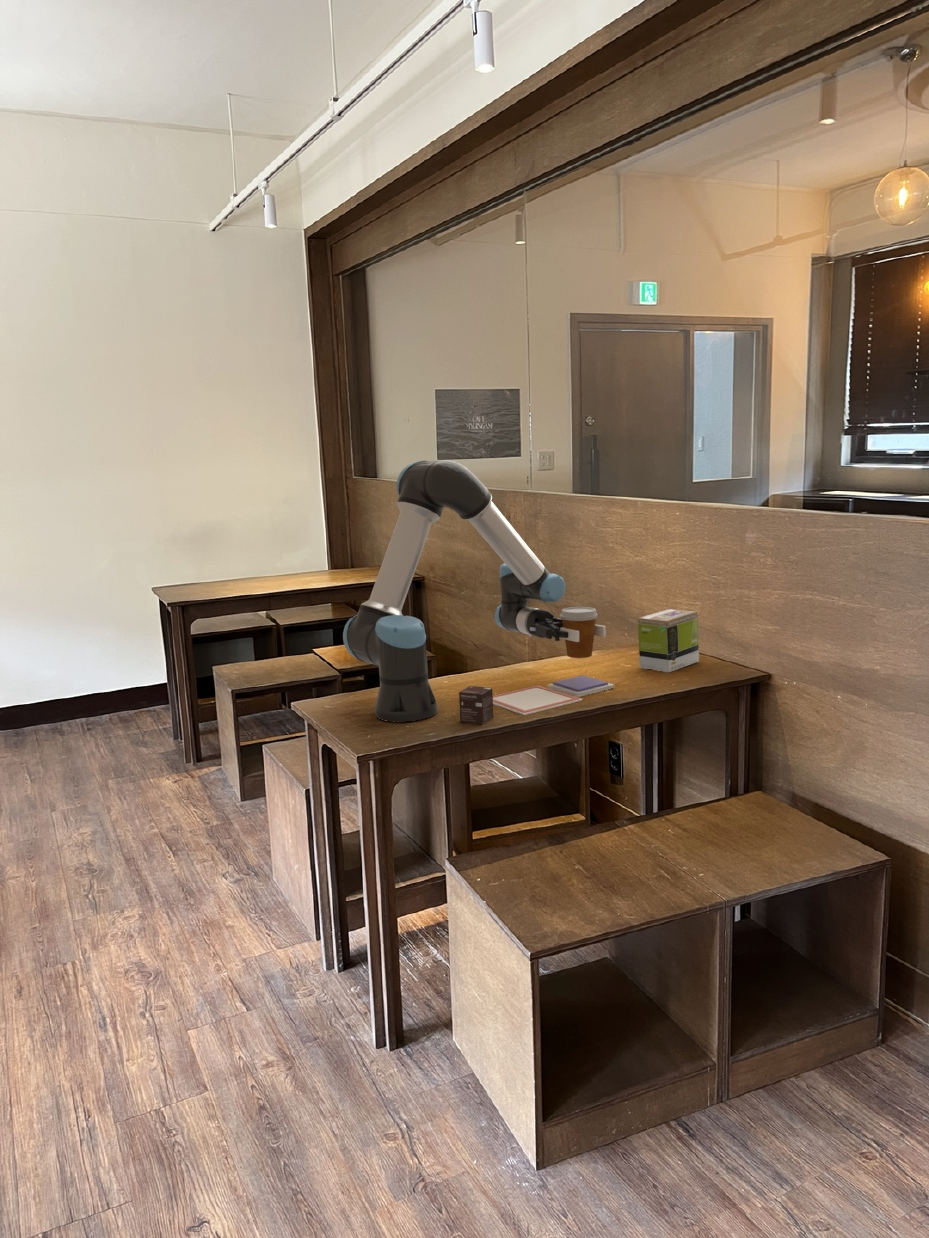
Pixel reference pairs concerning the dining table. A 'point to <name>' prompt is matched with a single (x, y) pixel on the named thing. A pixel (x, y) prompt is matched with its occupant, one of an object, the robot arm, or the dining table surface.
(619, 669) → the dining table surface
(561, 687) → the ink pad
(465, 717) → the box
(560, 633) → the robot arm
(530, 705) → the marked board
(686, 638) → the tea box
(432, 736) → the dining table surface
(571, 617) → the disposable coffee cup
